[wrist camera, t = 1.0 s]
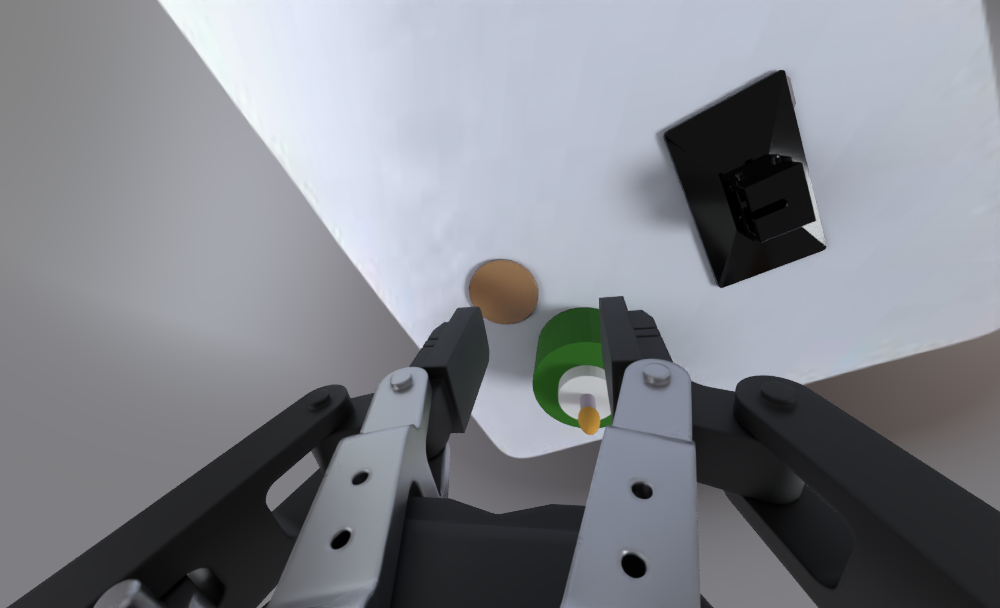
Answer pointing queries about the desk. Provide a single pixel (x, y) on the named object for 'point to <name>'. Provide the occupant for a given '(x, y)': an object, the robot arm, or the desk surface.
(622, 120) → the desk surface
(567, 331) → the candle
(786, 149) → the build plate
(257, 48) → the desk surface
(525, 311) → the coaster
